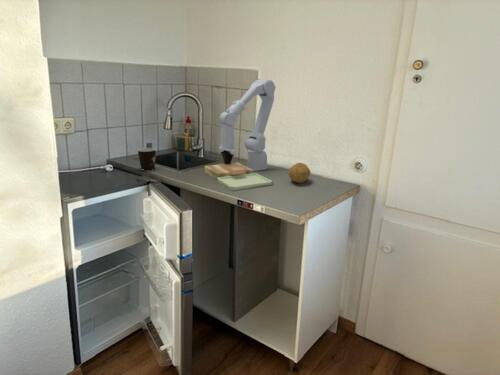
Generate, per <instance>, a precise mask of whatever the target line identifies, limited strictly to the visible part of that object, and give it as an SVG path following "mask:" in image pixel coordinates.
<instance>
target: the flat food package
mask: <svg viewBox="0 0 500 375" xmlns="http://www.w3.org/2000/svg"><path fill="white" fill-rule="evenodd" d="M232 163H233V162H231V164H232ZM234 163H235V164H237V165H239V166H241V167H242V168H244V169H246V170H245V174H250V173H254V171H253V170H252V169H250V168H248V166H247V165H243V164H241V163H240V162H234ZM223 164H224V163H220V164H211V165H204V173H206V174H207V175H209V176H210V177H212V178H213V179H215V180H217V178H218V177H226V176H234V175H233V174H231V173H230V172H228V171H226V170H224V169H223ZM236 175H242V174H236Z"/></svg>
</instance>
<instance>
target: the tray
mask: <svg viewBox="0 0 500 375" xmlns="http://www.w3.org/2000/svg"><path fill="white" fill-rule="evenodd" d="M216 182H217V183H219V184H220V185H222V186H224V187H225V188H227V189H228V190H229V191H231V192H234V191H235V192H236V191H240V190H241V191H242V190H246V189H255V188H260V187H268V186H273V185H274V181H273V180H270V179H269V178H267V177H265V176H263V175H261V174H259V173H257V172H253V173H250V174H242V175H234V176H226V177H218V178H217V179H216Z"/></svg>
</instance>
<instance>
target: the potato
mask: <svg viewBox="0 0 500 375" xmlns="http://www.w3.org/2000/svg"><path fill="white" fill-rule="evenodd" d="M288 176H289V178H290V179H291V180H292V181H293V182H295V183H297V184H301V183H304V182H306V181H307V180H308V179H309V178H310V176H311V169H310V168H309V166H308V165H306V164H305V163H303V162H297V163H295V164H293V165H291V167H289V169H288Z"/></svg>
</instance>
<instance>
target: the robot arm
mask: <svg viewBox="0 0 500 375" xmlns="http://www.w3.org/2000/svg"><path fill="white" fill-rule="evenodd" d="M275 92H276V85H275V83H274V81H273V80H271V79H256V80H254V82H252V83H251V85H250V87H249V88H248V90H246V92H245V94H243V96H241V98H240V99H239V100H234V101H233V102H232V104H231V105H230V107H228V108H227V109H225V111H224V112H222V113H220V116H219V117H218V122H219V123H220V129H221V131H220V132H221V133H220V134H221V136H220V137H221V140H220V141H221V144H219V147H218V148H219V150H220V155H221V156H222V160H223V164H231V163H232V160H233V158H234V156H235V155H237V150H236V149H235V147H234V133H235V132H234V125H235V124H236V122H237V119H238V118H239V116H240V115H241V114H242V113H243V112H244V111H245V109H246V105H248V103H249V102H250V101H252V99H254V97H256V96H259V97H260V99H261V103H260V107H259V110H258V113H257V118H256V121H255V124H254V126H253V130H252V131H251V132H250V133H249V134H248V137H247V138H246V139H245V141H244V146H245V149H246V150H247V167H248V168H250V169H252V170H253V172H256V171H257V172H259V171H263V170H264V171H265V170H266V171H267V170H268V154H267V153H266V151H265V149H266V140H267V139H266V136H265V131H266V127H267V125H268V121H269V117H270V116H271V115H270V114H271V111H272V109H273V105H274V100H275Z"/></svg>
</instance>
